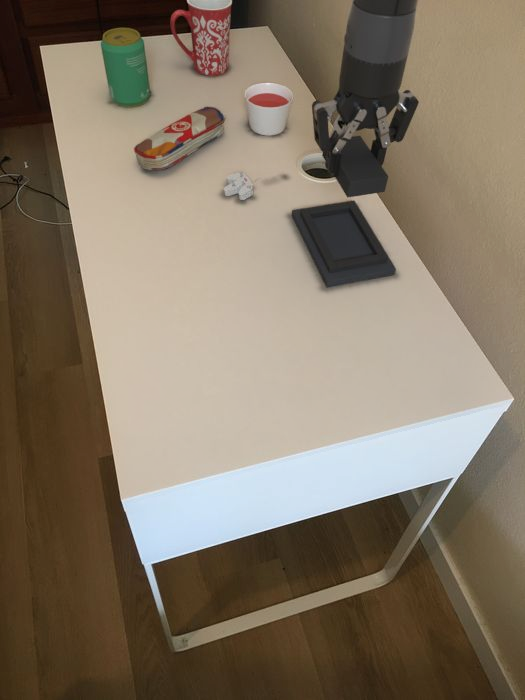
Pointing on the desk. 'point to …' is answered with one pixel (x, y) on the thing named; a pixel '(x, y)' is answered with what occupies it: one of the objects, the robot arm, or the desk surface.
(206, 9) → the mug
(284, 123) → the candle
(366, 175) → the black pad
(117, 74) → the beverage can
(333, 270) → the base pad
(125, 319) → the desk surface
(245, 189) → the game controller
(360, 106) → the robot arm
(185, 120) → the pencil case
